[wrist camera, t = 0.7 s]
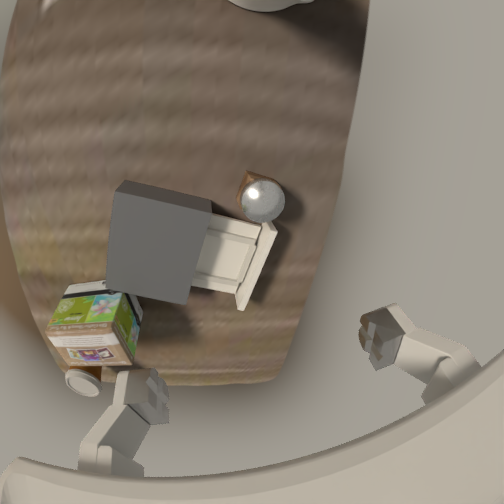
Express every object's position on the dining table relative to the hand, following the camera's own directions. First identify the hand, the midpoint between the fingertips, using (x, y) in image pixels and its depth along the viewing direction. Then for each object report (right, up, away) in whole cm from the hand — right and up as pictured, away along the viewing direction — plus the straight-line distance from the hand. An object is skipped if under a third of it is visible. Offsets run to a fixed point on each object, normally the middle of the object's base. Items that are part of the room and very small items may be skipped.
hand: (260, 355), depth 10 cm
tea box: (-31, -6, +42) cm, 53 cm away
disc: (+1, +12, +32) cm, 34 cm away
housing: (-17, +6, +37) cm, 41 cm away
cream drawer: (-7, +4, +40) cm, 41 cm away
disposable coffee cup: (-41, -21, +49) cm, 67 cm away
